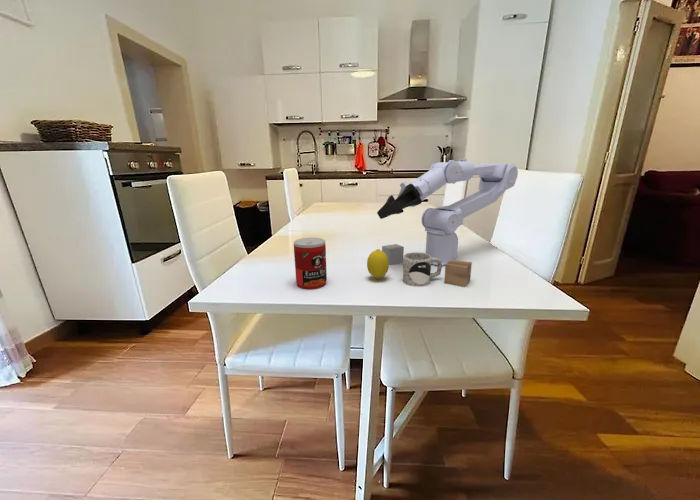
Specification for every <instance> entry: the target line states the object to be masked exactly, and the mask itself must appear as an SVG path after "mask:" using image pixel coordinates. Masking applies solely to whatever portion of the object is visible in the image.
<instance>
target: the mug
mask: <svg viewBox="0 0 700 500" xmlns="http://www.w3.org/2000/svg"><path fill="white" fill-rule="evenodd" d="M431 262H437V264H438V266H437V269H436V271H435V272H431V271H432V270H431V269H432V264H431ZM441 272H442V264H441V259H439V258H433V257H431V256H430V255H428V254H426V252H424V253H423V252H408V253H405V254H404V256H403V272H402V282H403V283H404V284H406V285H408V286H410V287H424V286H428V285H430V283H431V279H433V278H435V277H438V276H440V275H441Z"/></svg>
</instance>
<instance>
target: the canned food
mask: <svg viewBox="0 0 700 500" xmlns="http://www.w3.org/2000/svg"><path fill="white" fill-rule="evenodd" d="M326 246H327V245H326V240H325V239H323V238H322V237H321V238H320V237H303V238H302V237H301V238H298V239H295V240H294V241H293V254H294V269H295V270H294V271H295V282H296V285H297V286H298V287H299V288H301V289H304V290H305V289H306V290H316V289H320V288H322V287H324V286H326V284H327V280H328V279H327V275H328V274H327V247H326Z"/></svg>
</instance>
